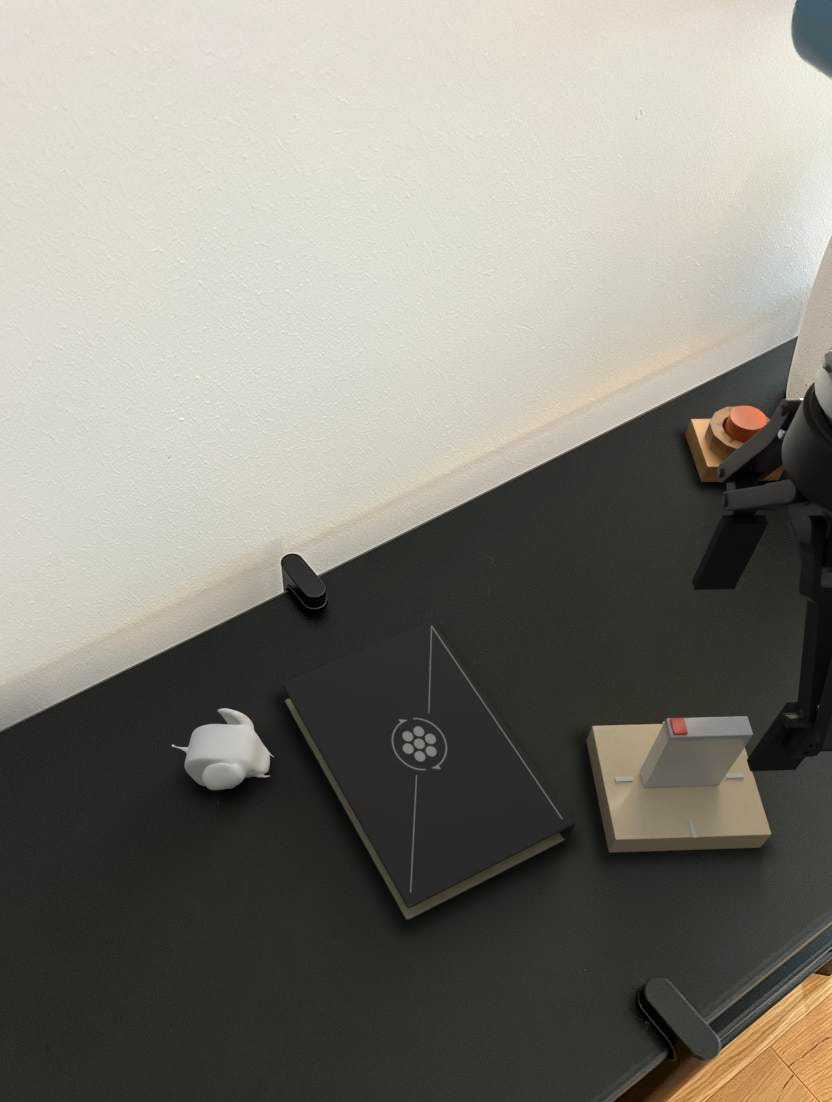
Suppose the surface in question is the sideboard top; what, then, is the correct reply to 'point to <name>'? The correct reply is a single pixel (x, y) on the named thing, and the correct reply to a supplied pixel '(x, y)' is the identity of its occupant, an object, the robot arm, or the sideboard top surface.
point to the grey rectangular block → (695, 751)
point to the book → (425, 768)
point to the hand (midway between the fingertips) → (739, 669)
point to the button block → (715, 445)
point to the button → (744, 422)
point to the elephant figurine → (226, 752)
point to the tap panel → (669, 799)
